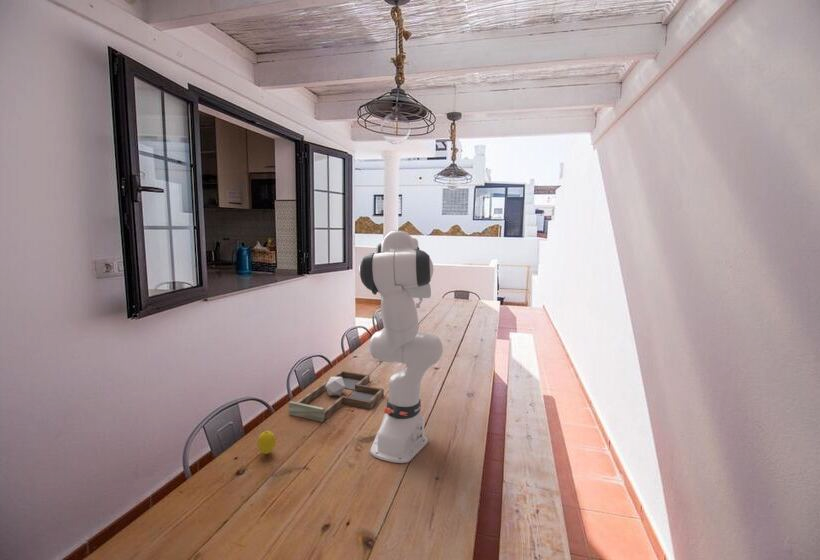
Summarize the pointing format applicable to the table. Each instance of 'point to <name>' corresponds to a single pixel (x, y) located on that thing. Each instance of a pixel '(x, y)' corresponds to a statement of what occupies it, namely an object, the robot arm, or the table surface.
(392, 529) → the table surface
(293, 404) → the box
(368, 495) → the table surface
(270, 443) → the lemon
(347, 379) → the end trap mat
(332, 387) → the die
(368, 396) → the side trap mat
